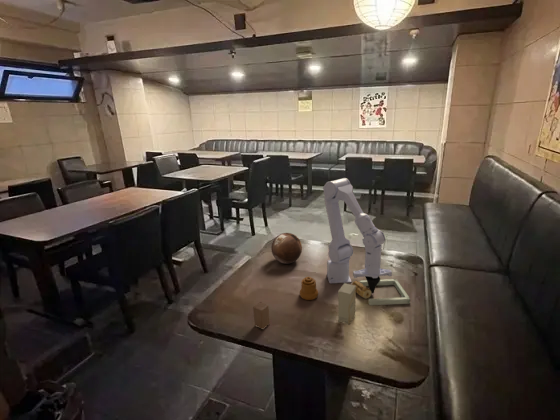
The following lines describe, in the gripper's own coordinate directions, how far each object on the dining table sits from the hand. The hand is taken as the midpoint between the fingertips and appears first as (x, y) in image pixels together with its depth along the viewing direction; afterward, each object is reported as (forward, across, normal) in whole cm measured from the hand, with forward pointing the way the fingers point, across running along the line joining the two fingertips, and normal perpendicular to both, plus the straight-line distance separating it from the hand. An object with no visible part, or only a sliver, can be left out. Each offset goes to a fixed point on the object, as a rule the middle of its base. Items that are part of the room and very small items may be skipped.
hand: (371, 291), depth 121 cm
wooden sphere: (+1, -33, +31) cm, 45 cm away
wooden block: (+1, -43, -16) cm, 46 cm away
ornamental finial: (+1, -25, +1) cm, 25 cm away
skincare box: (+1, -13, -14) cm, 19 cm away
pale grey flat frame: (+1, +5, 0) cm, 5 cm away
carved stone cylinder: (+1, -4, +1) cm, 4 cm away
